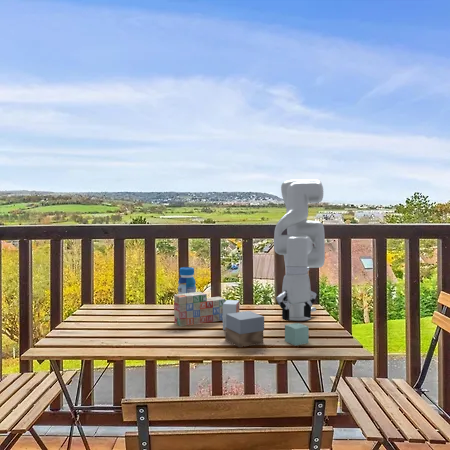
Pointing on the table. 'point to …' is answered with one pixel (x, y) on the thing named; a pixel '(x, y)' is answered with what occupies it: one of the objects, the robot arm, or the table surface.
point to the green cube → (296, 334)
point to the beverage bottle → (186, 281)
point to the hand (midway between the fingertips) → (296, 318)
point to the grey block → (245, 322)
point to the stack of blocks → (197, 308)
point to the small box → (229, 309)
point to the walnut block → (243, 338)
